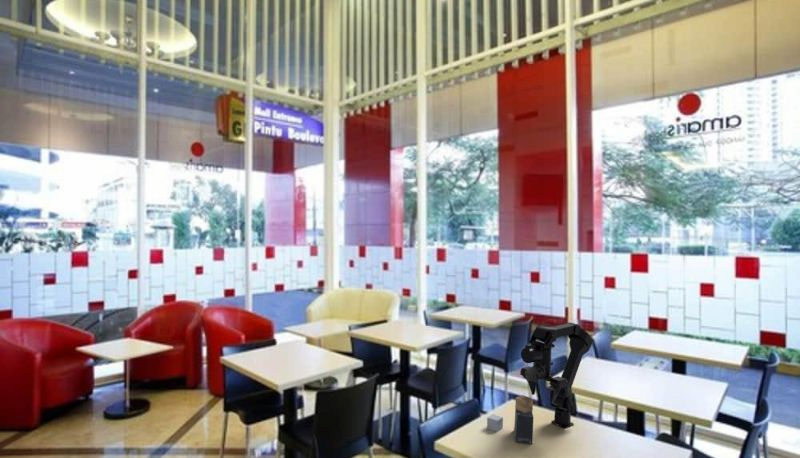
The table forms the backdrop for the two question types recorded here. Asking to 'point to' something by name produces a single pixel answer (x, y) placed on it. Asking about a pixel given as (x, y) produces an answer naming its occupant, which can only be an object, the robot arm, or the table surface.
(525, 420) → the small box
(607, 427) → the table surface
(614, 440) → the table surface
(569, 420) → the robot arm
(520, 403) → the walnut cube
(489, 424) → the slate block
